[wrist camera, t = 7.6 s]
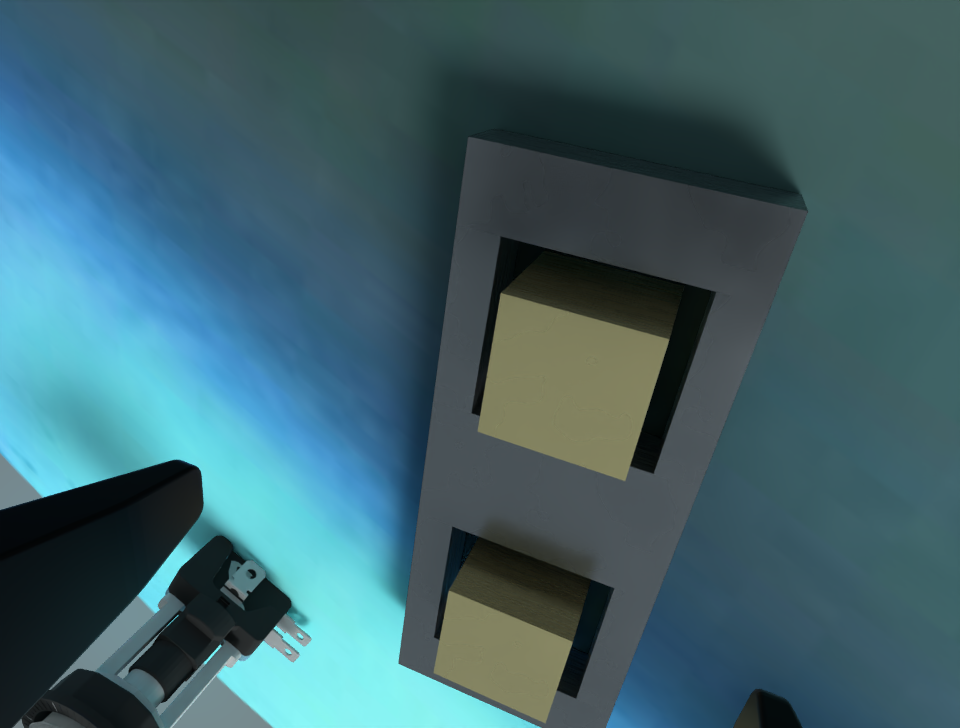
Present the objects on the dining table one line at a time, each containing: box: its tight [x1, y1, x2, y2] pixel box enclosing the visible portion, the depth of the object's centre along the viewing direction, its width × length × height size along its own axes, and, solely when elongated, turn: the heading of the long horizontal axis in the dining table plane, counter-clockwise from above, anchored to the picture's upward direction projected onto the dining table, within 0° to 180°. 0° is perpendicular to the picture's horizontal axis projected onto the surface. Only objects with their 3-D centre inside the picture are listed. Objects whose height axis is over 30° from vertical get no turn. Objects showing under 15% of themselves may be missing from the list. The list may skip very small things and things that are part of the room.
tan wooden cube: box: [433, 537, 591, 723], centre depth 22 cm, size 4×4×4 cm
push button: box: [21, 536, 312, 728], centre depth 26 cm, size 7×5×10 cm
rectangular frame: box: [398, 129, 808, 728], centre depth 21 cm, size 20×8×2 cm, turn 171°
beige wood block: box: [478, 251, 684, 481], centre depth 18 cm, size 4×4×4 cm
